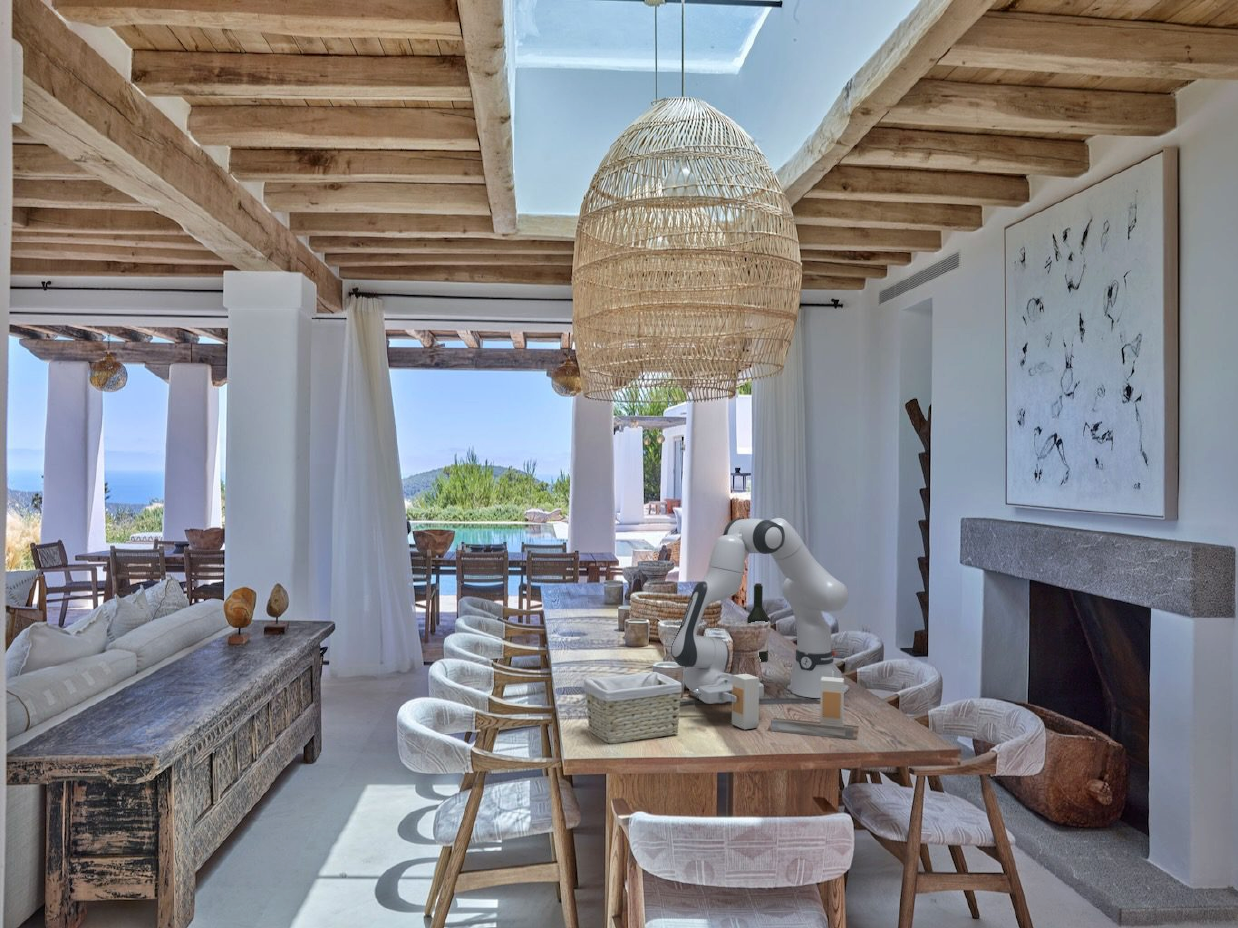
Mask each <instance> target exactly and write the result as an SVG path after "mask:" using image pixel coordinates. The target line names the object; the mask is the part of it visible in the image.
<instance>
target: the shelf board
mask: <svg viewBox="0 0 1238 928" xmlns="http://www.w3.org/2000/svg"><path fill="white" fill-rule="evenodd" d="M859 726H860V725H851V724H844V726H838V725H828V724H820V721H813V720H812V721H810V720H802V719H801V720H799V719H791V718H790V719H789V718H779V717H778V718H777V717H773V718H771V719H770V723H769V725H768V728H767V730H766V731H767V732H773V733H781V734H782V733H784V734H792V735H794V734H795V735H801V736H802V735H803V736H810V737H811V736H813V737H820V738H821V737H822V738H830V739H831V738H833V739H842V740H852V741H857V740H858V735H859V729H860V728H859Z"/></svg>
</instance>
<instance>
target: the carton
mask: <svg viewBox="0 0 1238 928" xmlns="http://www.w3.org/2000/svg"><path fill="white" fill-rule="evenodd" d="M844 685H845V678H843V677H842V678H835V677H822V678H821V698H820V703H819V704H820V705H819V706H820V714H819V715H820V716H819V717H820V718H819V720H820V721H819V722H820V724H828V725H838V726H844V725H845V724H844V723H845V722H844V720H845V719H844V717H845V714H844V713H845V709H844V708H845V707H844V706H845V705H844V704H845V702H844V701H845V694H844Z"/></svg>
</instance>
